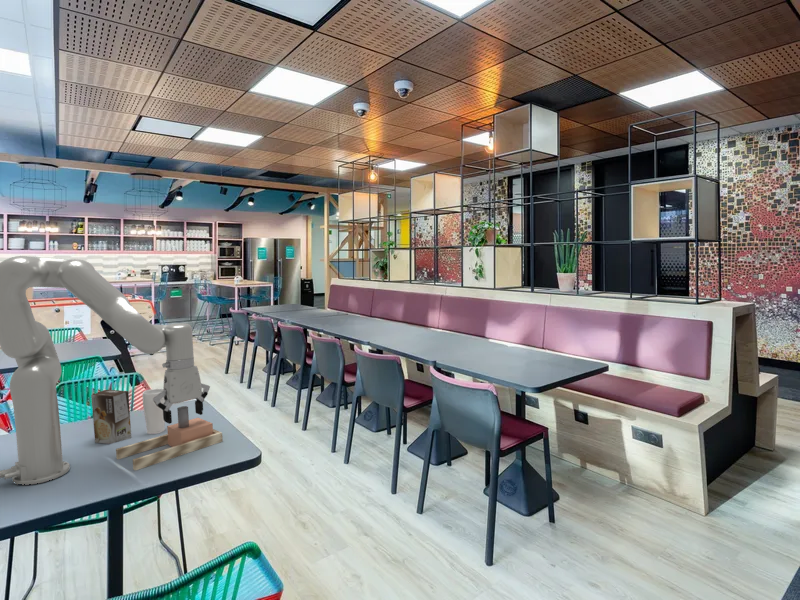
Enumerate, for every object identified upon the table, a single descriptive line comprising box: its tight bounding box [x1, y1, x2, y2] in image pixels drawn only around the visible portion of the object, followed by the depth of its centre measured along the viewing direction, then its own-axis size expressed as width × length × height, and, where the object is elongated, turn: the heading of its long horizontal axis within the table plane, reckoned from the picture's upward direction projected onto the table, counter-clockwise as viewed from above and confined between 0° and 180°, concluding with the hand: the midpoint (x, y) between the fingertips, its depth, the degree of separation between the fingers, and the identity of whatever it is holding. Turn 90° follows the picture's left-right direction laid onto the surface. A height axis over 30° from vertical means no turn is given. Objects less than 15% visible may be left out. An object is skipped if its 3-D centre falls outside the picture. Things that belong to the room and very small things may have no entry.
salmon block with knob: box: [166, 405, 214, 448], centre depth 146 cm, size 10×9×12 cm
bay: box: [115, 428, 223, 471], centre depth 142 cm, size 26×13×4 cm, turn 141°
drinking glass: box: [142, 388, 166, 435], centre depth 157 cm, size 7×7×15 cm
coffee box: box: [91, 389, 132, 445], centre depth 152 cm, size 9×6×16 cm
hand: (184, 418), depth 144 cm, fingers open, 9 cm apart
